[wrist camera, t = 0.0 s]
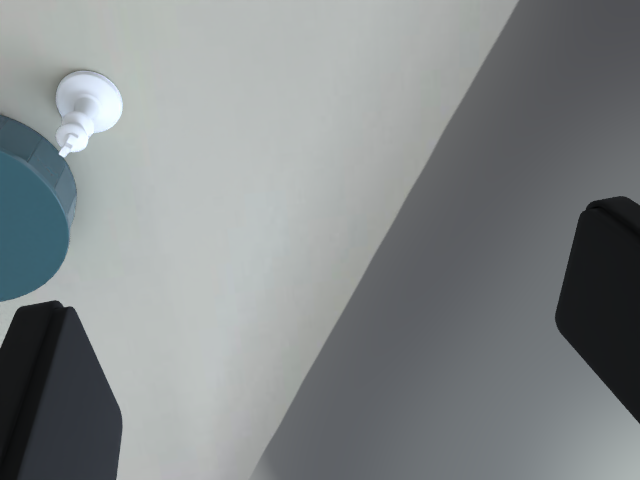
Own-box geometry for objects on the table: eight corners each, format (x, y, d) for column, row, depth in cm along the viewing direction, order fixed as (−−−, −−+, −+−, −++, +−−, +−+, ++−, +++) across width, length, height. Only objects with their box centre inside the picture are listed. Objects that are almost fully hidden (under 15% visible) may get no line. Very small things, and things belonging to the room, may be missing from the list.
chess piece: (44, 107, 41) (8, 157, 33) (75, 57, 40) (46, 96, 31) (102, 141, 43) (83, 197, 35) (134, 96, 42) (121, 142, 34)
